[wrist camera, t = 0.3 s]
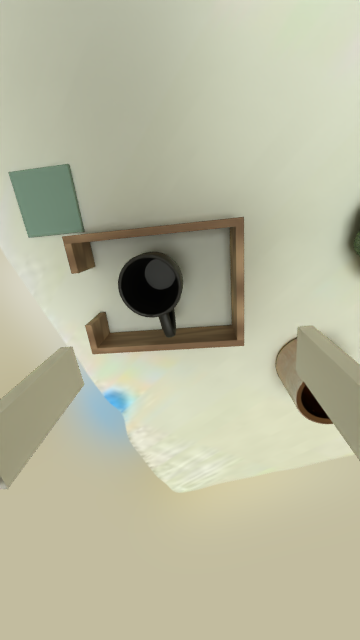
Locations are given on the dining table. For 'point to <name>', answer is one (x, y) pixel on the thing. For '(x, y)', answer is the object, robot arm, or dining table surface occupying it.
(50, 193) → the mat
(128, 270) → the mug
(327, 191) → the dining table surface
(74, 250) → the wooden tray frame
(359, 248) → the vegetable
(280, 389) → the dining table surface
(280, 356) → the planter
